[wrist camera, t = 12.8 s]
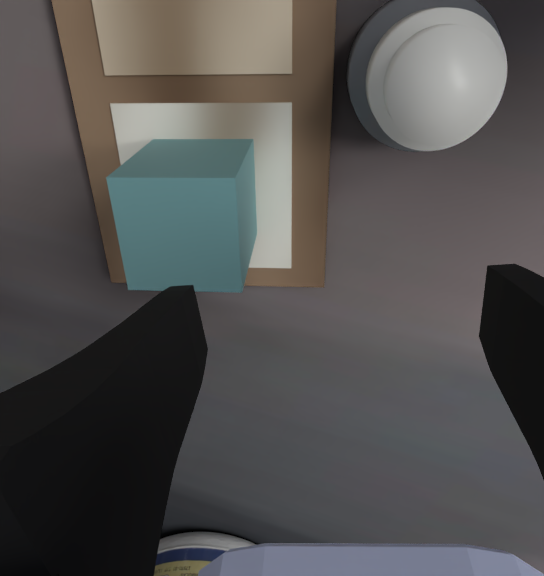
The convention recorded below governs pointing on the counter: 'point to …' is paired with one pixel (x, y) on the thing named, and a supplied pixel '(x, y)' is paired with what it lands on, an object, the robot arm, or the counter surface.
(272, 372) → the counter surface
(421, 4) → the dome base
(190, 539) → the supplement tub
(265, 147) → the game board
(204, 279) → the teal rectangular block
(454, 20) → the dome
